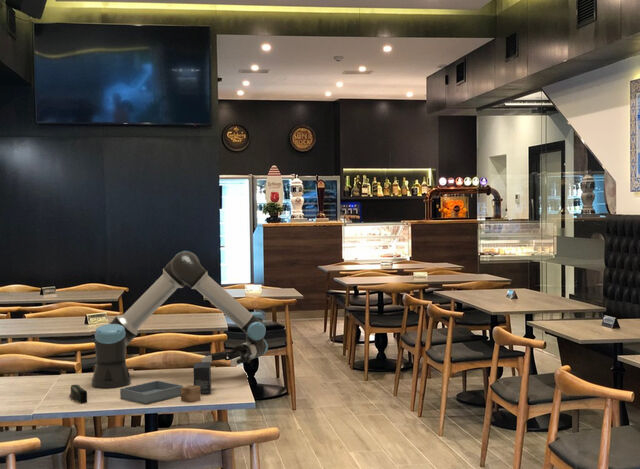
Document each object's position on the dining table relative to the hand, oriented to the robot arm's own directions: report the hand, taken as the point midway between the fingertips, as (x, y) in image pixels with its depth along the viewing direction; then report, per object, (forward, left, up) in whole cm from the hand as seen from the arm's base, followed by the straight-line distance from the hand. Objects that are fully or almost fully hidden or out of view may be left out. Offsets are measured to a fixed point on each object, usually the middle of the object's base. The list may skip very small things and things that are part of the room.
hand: (216, 362), depth 302 cm
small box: (+2, -10, -10) cm, 14 cm away
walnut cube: (+9, -22, -9) cm, 25 cm away
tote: (-7, -27, -9) cm, 29 cm away
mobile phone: (-27, -45, -10) cm, 53 cm away
